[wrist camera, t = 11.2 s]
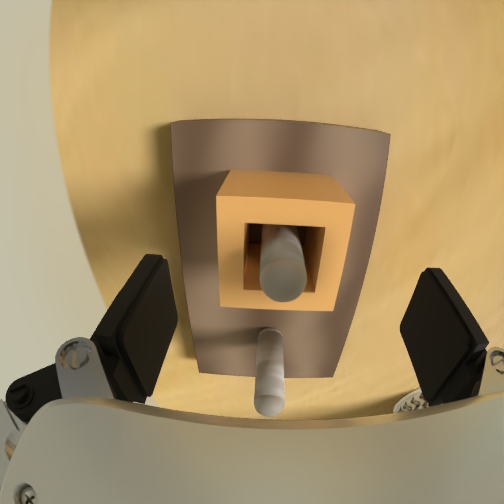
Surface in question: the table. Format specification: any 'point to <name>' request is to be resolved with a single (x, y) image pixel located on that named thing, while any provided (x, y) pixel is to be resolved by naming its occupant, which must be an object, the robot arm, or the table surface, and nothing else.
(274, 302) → the collar
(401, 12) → the table surface
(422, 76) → the table surface
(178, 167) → the post board
